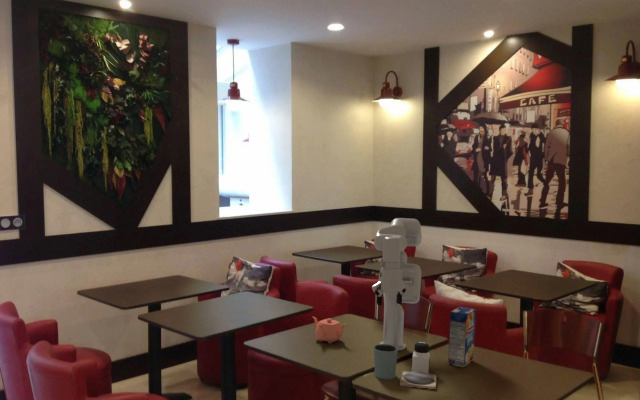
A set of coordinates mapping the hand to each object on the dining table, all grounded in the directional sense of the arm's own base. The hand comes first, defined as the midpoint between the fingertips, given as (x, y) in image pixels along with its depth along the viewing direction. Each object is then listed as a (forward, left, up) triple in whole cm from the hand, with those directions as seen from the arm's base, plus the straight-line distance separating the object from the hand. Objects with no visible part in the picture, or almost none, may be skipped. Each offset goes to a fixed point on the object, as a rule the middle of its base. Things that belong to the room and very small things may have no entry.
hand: (389, 304), depth 254 cm
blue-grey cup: (+11, 0, -28) cm, 30 cm away
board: (+13, +15, -28) cm, 34 cm away
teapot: (-26, -32, -28) cm, 50 cm away
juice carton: (-16, +32, -28) cm, 45 cm away
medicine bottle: (0, +15, -28) cm, 32 cm away
